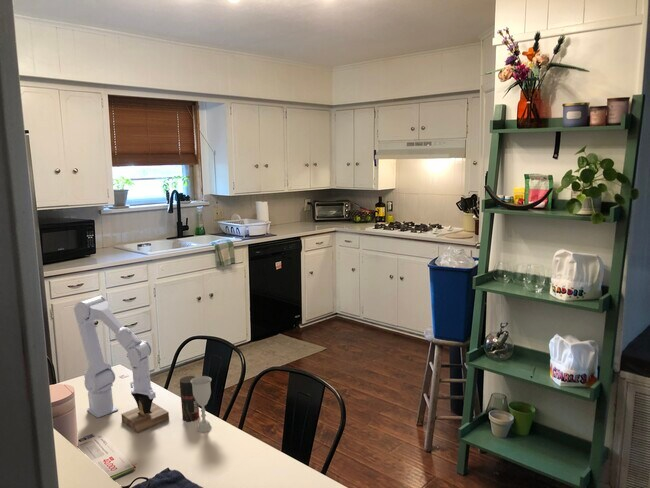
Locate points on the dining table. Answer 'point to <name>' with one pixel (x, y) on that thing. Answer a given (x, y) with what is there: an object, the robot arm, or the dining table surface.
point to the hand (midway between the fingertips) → (144, 411)
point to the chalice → (202, 398)
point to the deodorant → (188, 400)
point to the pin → (141, 410)
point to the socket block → (145, 418)
